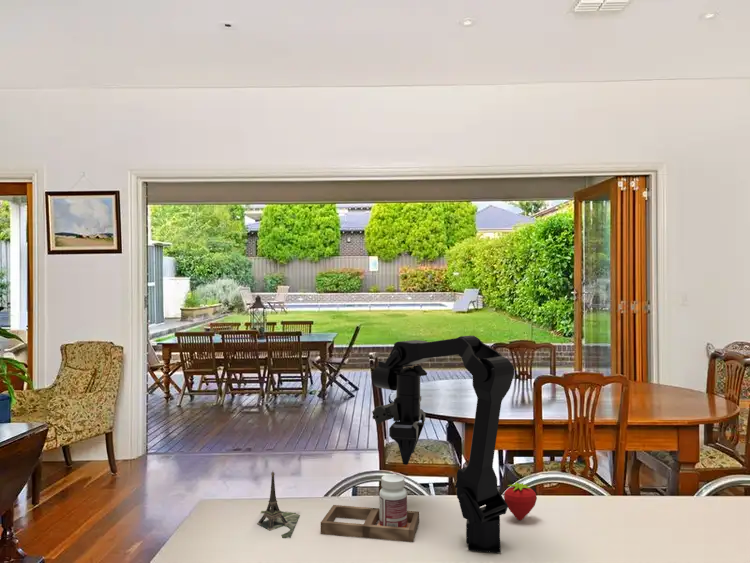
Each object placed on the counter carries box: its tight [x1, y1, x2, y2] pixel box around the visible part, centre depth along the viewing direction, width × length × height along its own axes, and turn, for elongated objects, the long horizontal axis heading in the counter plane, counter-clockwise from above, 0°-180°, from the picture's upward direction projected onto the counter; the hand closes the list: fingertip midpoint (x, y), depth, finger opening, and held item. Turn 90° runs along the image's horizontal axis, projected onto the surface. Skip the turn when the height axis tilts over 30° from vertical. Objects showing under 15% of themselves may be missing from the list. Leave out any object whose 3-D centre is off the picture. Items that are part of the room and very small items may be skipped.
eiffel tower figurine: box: [256, 471, 301, 539], centre depth 131 cm, size 15×10×13 cm
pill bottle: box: [378, 473, 408, 528], centre depth 127 cm, size 6×6×11 cm
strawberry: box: [503, 479, 538, 521], centre depth 133 cm, size 6×8×10 cm
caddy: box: [320, 504, 420, 543], centre depth 128 cm, size 20×10×2 cm, turn 79°
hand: (408, 458), depth 137 cm, fingers open, 9 cm apart
